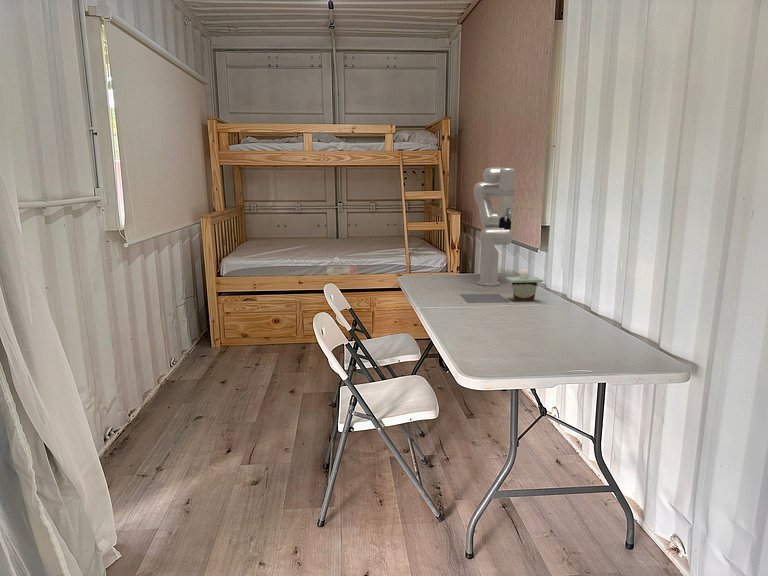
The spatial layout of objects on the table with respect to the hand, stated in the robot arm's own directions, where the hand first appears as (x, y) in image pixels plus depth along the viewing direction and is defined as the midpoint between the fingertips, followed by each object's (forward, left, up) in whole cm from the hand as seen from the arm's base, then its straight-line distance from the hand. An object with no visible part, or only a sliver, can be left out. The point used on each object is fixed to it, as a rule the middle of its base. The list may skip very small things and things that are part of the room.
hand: (504, 228), depth 264 cm
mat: (+12, -12, -33) cm, 37 cm away
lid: (+16, +6, -23) cm, 29 cm away
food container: (+16, +6, -34) cm, 38 cm away
